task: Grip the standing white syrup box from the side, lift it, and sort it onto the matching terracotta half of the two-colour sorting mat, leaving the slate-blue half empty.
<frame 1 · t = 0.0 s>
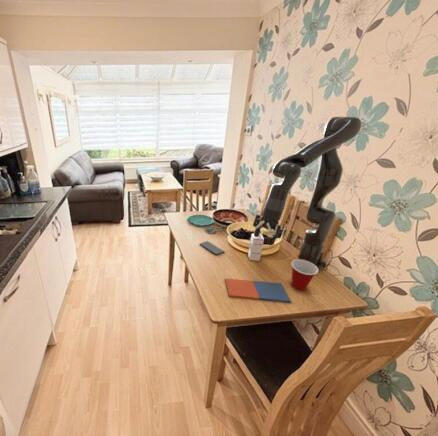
hand: (262, 240, 111), 22 cm above the table, tool pointing down, fingers open, 8 cm apart
plastic cup: (298, 287, 115), on the table
syrup box: (253, 258, 137), on the table
smartphone: (211, 248, 147), on the table
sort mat: (255, 290, 112), on the table
teal oval plate: (204, 224, 179), on the table
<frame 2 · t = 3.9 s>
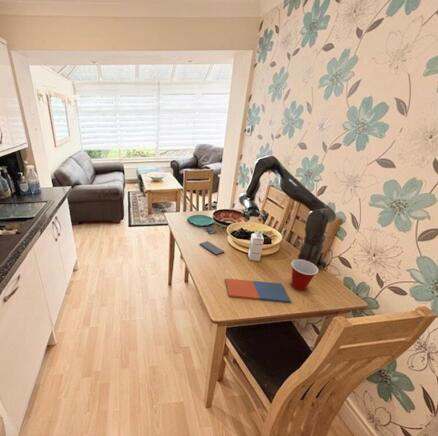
hand: (256, 219, 138), 20 cm above the table, tool horizontal, fingers open, 8 cm apart
nothing on the table moved.
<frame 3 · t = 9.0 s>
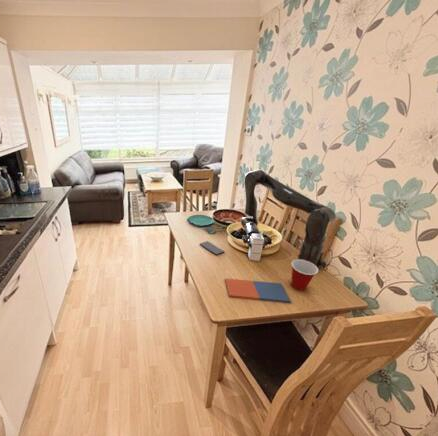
hand: (257, 246, 132), 9 cm above the table, tool horizontal, fingers closed on syrup box, 6 cm apart
syrup box: (253, 258, 137), on the table, touching gripper
everything else where it was.
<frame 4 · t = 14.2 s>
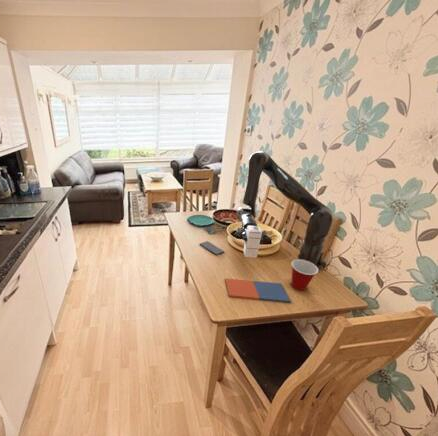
hand: (253, 240, 112), 22 cm above the table, tool horizontal, fingers closed on syrup box, 6 cm apart
syrup box: (249, 254, 118), point 13 cm above the table, touching gripper
everything else where it was.
when the fingers open (10 cm above the table, at t = 19.5 s): syrup box stays where it is, resting on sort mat.
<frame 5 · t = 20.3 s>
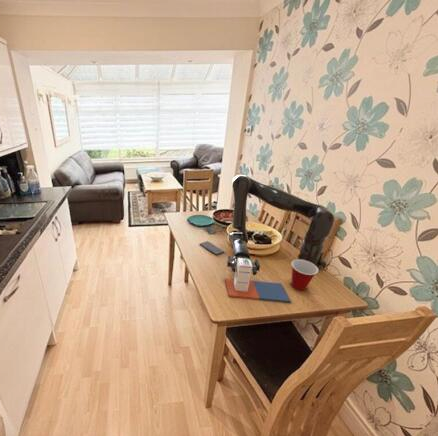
hand: (244, 272, 107), 11 cm above the table, tool horizontal, fingers open, 8 cm apart
syrup box: (240, 287, 113), point 1 cm above the table, touching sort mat
everything else where it was.
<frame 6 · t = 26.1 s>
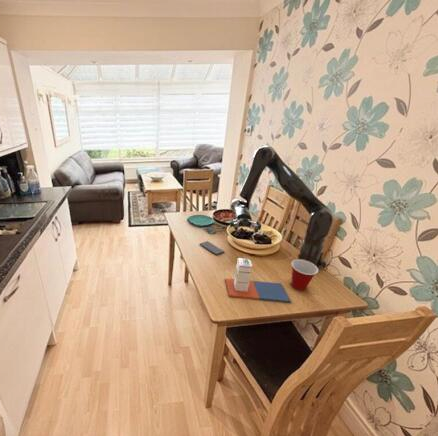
hand: (246, 230, 112), 26 cm above the table, tool horizontal, fingers open, 8 cm apart
nothing on the table moved.
at the end: syrup box inside the target area on the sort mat (0.4 cm from its centre), point 0.8 cm above the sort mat's base; syrup box tilted 0° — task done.
